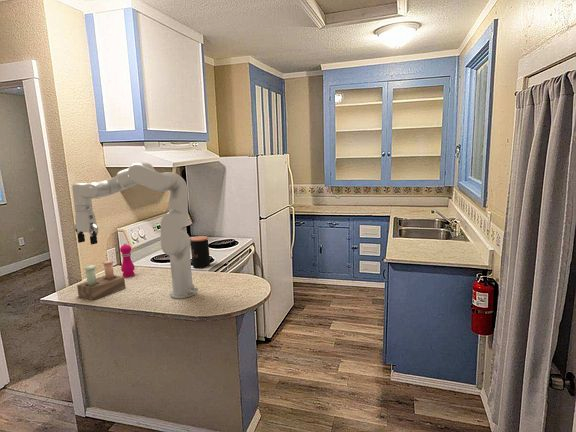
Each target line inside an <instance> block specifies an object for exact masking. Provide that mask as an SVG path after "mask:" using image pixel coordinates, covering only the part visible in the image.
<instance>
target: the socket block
mask: <svg viewBox="0 0 576 432" xmlns="http://www.w3.org/2000/svg"><path fill="white" fill-rule="evenodd" d="M96 282H97V284H96V285H93V286H88V284H87V281H84V282H82V283H80V284H77V285H76V287H77V294H78V297H79V298H82V297H83V298H82V299H87V300H92V301H95V300H99V299H100V298H103V297H106V296H108V295H111V294H113V292H114V293H115V292H119V291H121V290H124V289H126V281H125V277H123V275H122V276H121V275H120V276H119V275H114V278H113V279H110V280H106V277H105V275H104V276H100V277H98V278H97V277H96ZM123 288H124V289H123ZM118 290H119V291H118ZM105 295H106V296H105Z"/></svg>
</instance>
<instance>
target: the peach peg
mask: <svg viewBox="0 0 576 432" xmlns="http://www.w3.org/2000/svg"><path fill="white" fill-rule="evenodd" d="M113 263H114V260H112V259H107V260H106V259H105V260H104V261H103V260H102V265H103V268H104V276H105V277H106V280H110V279H113V278H114V267H113Z"/></svg>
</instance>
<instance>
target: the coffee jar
mask: <svg viewBox="0 0 576 432" xmlns="http://www.w3.org/2000/svg"><path fill="white" fill-rule="evenodd" d="M208 239H209V237H208V236H205V235H198V236H192V237H190V255H191V267H193V268H194V269H205V268H208V267H210V265H211V259H210V257H211V256H210V245H209V240H208Z"/></svg>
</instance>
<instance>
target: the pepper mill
mask: <svg viewBox="0 0 576 432" xmlns="http://www.w3.org/2000/svg"><path fill="white" fill-rule="evenodd" d="M119 248H120V249H119V252H120V253H121V257H122V263H121V267H120V270H121V272H122V277H124V278H131V277H130V276H132V277H134V276H135V269H136V267H135V264H134V263H133V261H132V257H131V255H132V253H131V251H132V246H131V245H129V244H127V242H126V241H125V242H123V245H121V246H120V247H119ZM133 275H134V276H133Z"/></svg>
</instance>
